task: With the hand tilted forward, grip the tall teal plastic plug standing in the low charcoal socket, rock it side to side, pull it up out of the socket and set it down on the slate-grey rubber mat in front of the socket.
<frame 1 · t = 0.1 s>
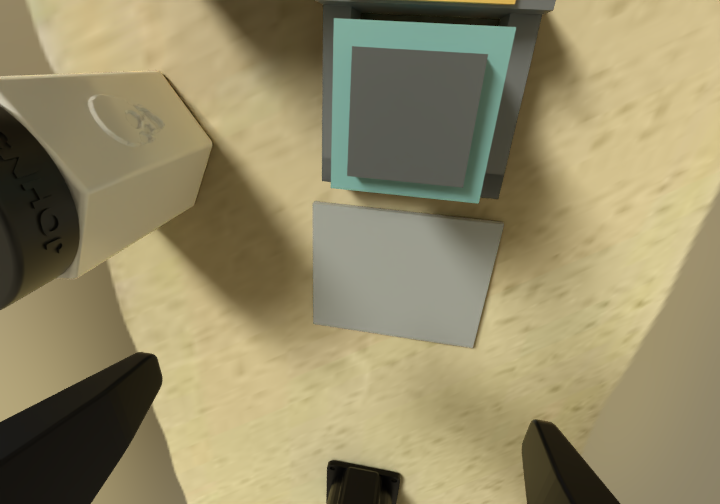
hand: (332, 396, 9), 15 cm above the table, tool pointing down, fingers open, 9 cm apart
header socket: (420, 90, 19), on the table
plug: (420, 90, 19), resting in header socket
jar: (148, 142, 23), on the table
mat: (398, 276, 24), on the table
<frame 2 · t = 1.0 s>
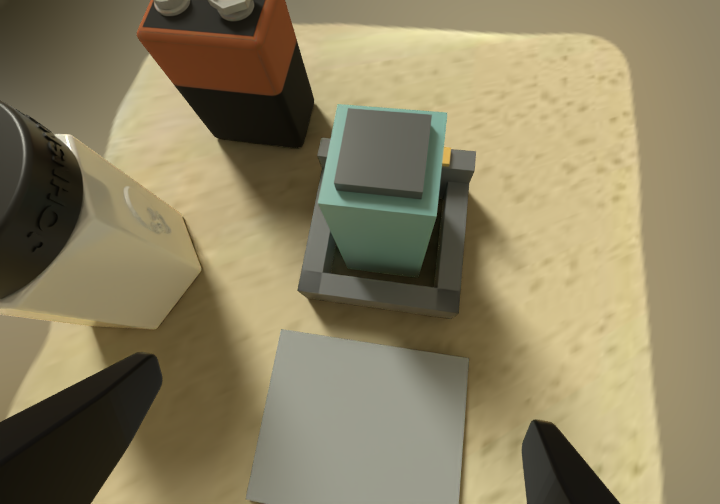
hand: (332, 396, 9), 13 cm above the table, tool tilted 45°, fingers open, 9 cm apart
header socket: (387, 239, 24), on the table
plug: (387, 240, 24), resting in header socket
jar: (140, 268, 25), on the table
battery: (266, 122, 27), on the table
mat: (360, 425, 21), on the table
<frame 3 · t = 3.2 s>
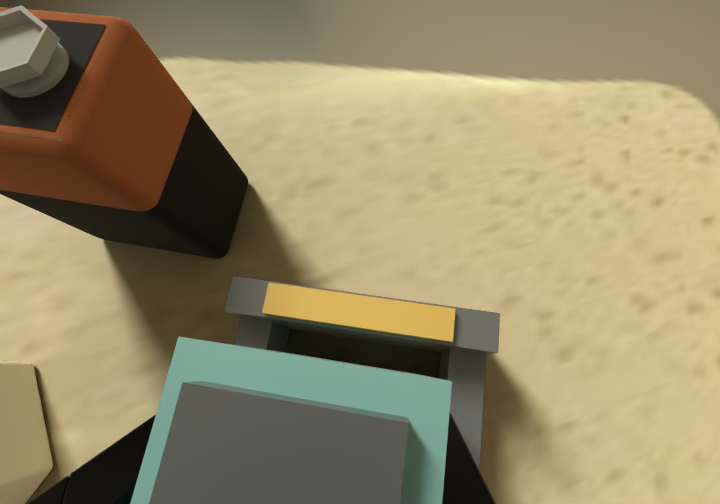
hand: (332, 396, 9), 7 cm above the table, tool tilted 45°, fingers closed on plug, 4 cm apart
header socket: (351, 422, 15), on the table
plug: (351, 422, 15), resting in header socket, touching gripper
battery: (178, 210, 18), on the table
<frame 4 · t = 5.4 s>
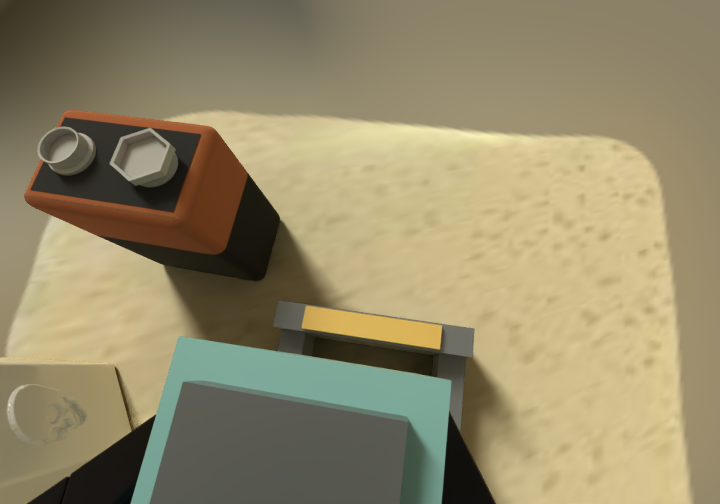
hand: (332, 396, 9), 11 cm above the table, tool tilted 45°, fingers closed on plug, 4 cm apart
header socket: (364, 409, 19), on the table
plug: (351, 421, 15), point 5 cm above the table, touching gripper
jar: (61, 436, 20), on the table
battery: (223, 241, 23), on the table
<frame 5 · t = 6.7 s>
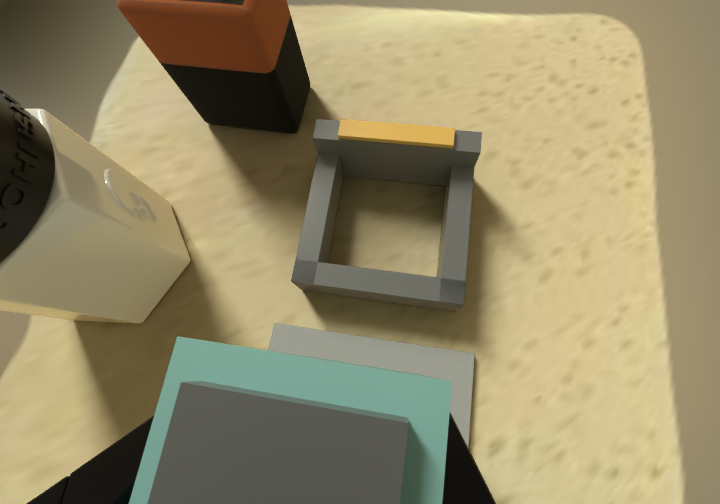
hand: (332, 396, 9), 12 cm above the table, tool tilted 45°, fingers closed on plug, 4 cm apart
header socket: (387, 228, 22), on the table
plug: (351, 422, 15), point 5 cm above the table, touching gripper
jar: (126, 259, 24), on the table
battery: (260, 106, 26), on the table
mat: (359, 425, 19), on the table
when the fingers open (7 cm above the table, at t = 7.7 s): plug stays where it is, resting on mat.
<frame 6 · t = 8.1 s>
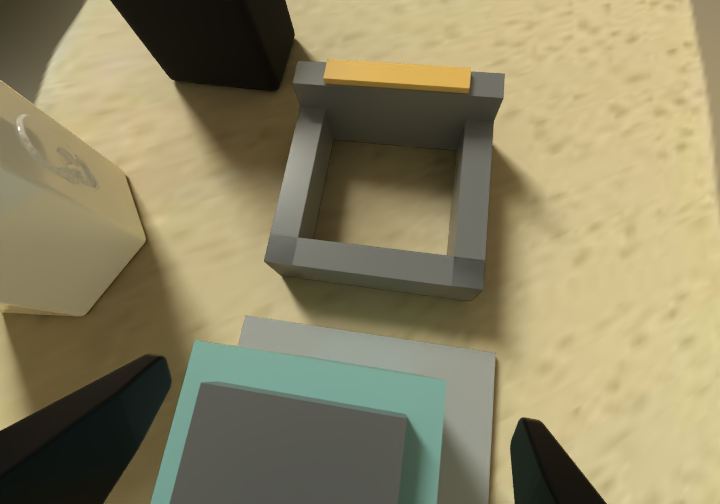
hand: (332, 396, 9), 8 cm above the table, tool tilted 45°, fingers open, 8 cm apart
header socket: (385, 201, 18), on the table
plug: (352, 420, 15), resting on mat
jar: (70, 240, 19), on the table
battery: (235, 62, 22), on the table
mat: (349, 444, 15), on the table
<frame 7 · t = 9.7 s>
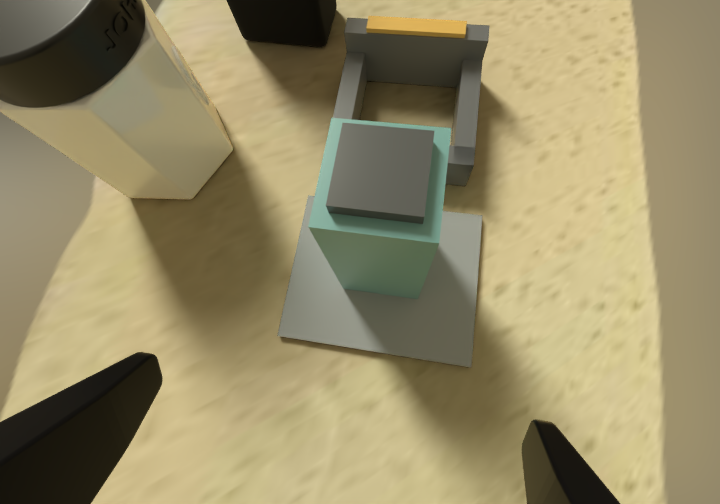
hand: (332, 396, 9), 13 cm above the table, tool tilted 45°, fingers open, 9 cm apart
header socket: (405, 122, 26), on the table
plug: (385, 258, 23), resting on mat
jar: (175, 151, 27), on the table
battery: (291, 27, 30), on the table
mat: (382, 275, 23), on the table
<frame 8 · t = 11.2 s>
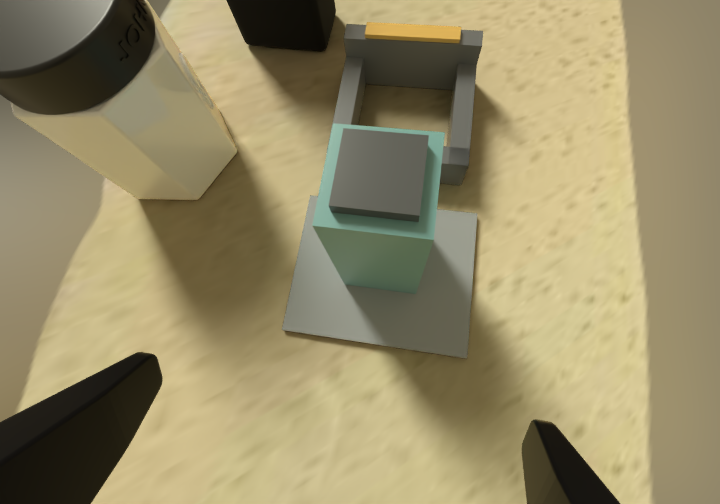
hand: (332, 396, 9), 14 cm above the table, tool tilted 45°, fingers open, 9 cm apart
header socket: (403, 123, 27), on the table
plug: (384, 255, 24), resting on mat
jar: (181, 153, 28), on the table
battery: (292, 32, 30), on the table
mat: (382, 271, 24), on the table
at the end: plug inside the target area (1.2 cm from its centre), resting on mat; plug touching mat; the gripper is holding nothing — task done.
